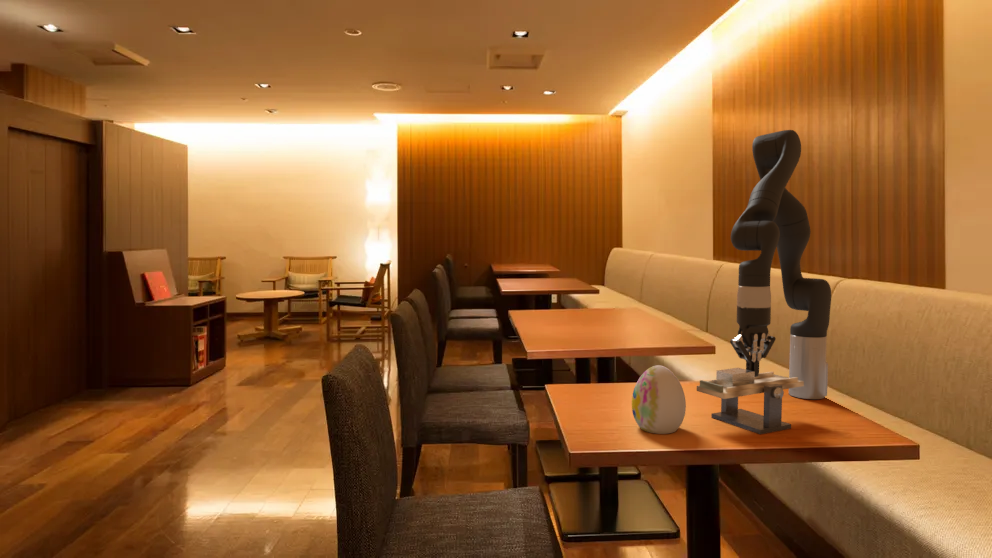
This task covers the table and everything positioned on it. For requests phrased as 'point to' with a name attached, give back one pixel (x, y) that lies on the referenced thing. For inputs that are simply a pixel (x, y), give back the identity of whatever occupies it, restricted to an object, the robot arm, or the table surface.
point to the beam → (748, 386)
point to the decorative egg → (658, 401)
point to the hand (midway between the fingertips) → (752, 376)
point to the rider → (734, 377)
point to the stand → (753, 420)
